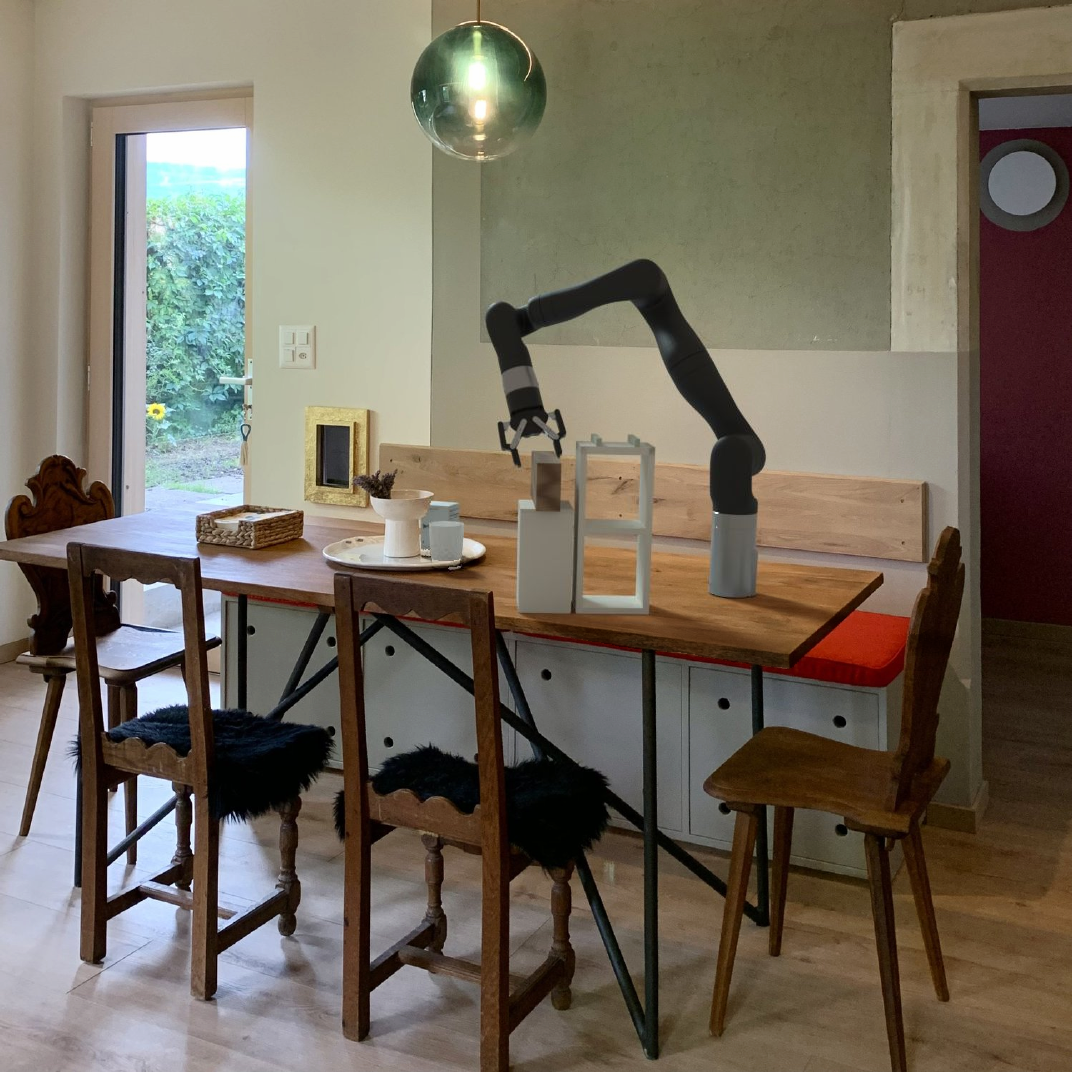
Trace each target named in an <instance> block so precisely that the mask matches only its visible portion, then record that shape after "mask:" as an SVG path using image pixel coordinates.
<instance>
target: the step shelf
mask: <svg viewBox="0 0 1072 1072" xmlns="http://www.w3.org/2000/svg"><path fill="white" fill-rule="evenodd" d="M588 455H601V456H602V455H603V456H604V455H605V456H606V455H607V456H609V455H613V456H640V464H639V465H640V467H639V468H640V469H639V491H638V492H639V493H638V496H639V497H638V518H637V519H607V518H606V519H604V518H603V519H602V518H601V519H599V518H597V519H596V518H595V519H594V518H593V519H591V518H586V505H587V504H586V503H587V501H586V499H587V498H586V497H587V471H588V470H587V465H588V462H587V461H588ZM655 464H656V447H655V446H654V445H652V444H651V443H649V442H645V441H641V438H639V437H637V436H636V435H635V434H632V433H631V434H627V441H603V438H602V437H601V436H600V435H598V434H597V433H590V441H589V440H588V441H584V440H576V441H575V469H574V470H575V471H574V475H575V476H574V505H572V504H571V502H570V501H569V500H561V502H560V512H547V511H536V510H535V507H534V503H533V500H532V499H518V501H517V502H518V504H517V508H518V509H517V544H516V545H517V548H516V550H517V551H516V552H517V553H516V555H517V556H516V558H517V560H516V605H517V612H518V614H571V612H572V607H573V609H574V612H575V614H577V615H578V614H581V615H584V614H585V615H586V614H587V615H588V614H589V615H590V614H591V615H595V614H596V615H597V614H598V615H650V593H651V591H650V590H651V571H652V570H651V568H652V567H651V566H652V545H653V543H652V542H653V521H654V520H653V518H654V517H653V516H654V497H655V495H654V490H655V489H654V488H655V468H656V467H655ZM573 507H574V508H573ZM586 535H616V536H617V535H619V536H620V535H624V536H625V535H627V536H630V535H631V536H632V535H633V536H636V535H637V542H636V544H637V546H636V549H637V550H636V573H635V574H636V575H635V578H636V579H635V595H599V594H598V595H591V594H590V595H587V594H583V593H584V570H585V566H584V565H585V536H586ZM572 605H573V606H572Z"/></svg>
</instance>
